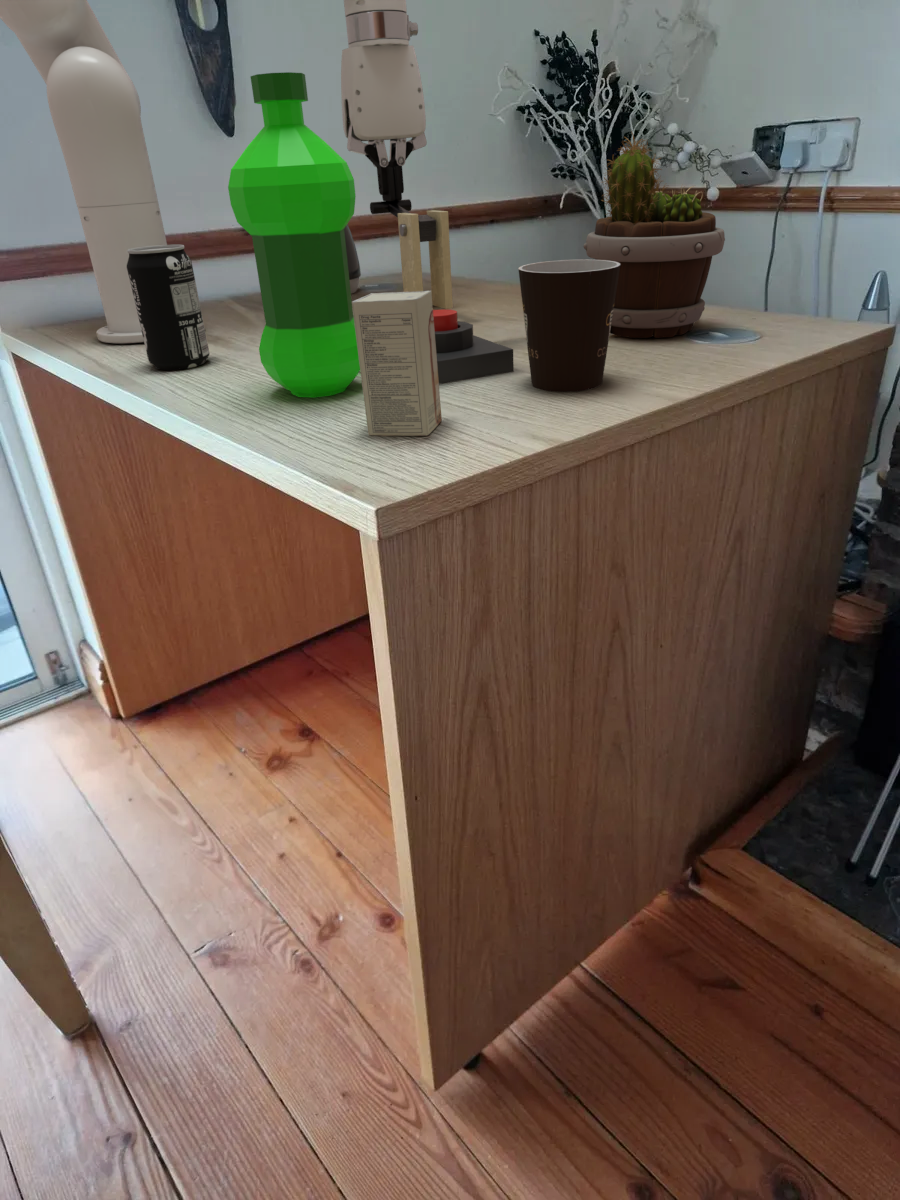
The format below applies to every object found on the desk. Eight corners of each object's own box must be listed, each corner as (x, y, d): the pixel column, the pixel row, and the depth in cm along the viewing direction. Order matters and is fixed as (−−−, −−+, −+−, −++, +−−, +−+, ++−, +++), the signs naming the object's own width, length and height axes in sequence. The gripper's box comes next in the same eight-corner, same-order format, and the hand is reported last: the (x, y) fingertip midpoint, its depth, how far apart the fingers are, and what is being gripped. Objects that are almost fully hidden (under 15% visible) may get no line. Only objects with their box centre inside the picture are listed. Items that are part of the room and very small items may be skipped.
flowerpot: (666, 313, 100) (681, 128, 90) (742, 334, 87) (769, 121, 77) (561, 326, 96) (564, 135, 86) (624, 350, 83) (636, 128, 73)
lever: (370, 216, 107) (369, 197, 106) (407, 213, 109) (407, 194, 108) (407, 243, 98) (407, 222, 97) (447, 239, 100) (448, 218, 99)
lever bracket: (387, 318, 107) (378, 213, 101) (441, 311, 110) (435, 208, 104) (416, 329, 99) (408, 216, 93) (473, 321, 102) (469, 211, 96)
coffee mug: (591, 400, 67) (596, 273, 62) (502, 390, 72) (500, 271, 67) (640, 369, 76) (647, 255, 71) (558, 362, 80) (559, 255, 75)
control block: (375, 364, 84) (371, 324, 82) (460, 350, 87) (458, 312, 85) (419, 388, 74) (416, 343, 72) (513, 372, 77) (513, 329, 76)
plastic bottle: (385, 396, 72) (354, 66, 60) (268, 411, 70) (211, 70, 57) (363, 372, 80) (333, 79, 68) (258, 385, 78) (207, 83, 66)
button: (416, 330, 80) (414, 312, 79) (448, 326, 81) (447, 308, 80) (430, 336, 77) (429, 317, 76) (464, 331, 78) (463, 312, 77)
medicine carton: (443, 421, 64) (435, 289, 59) (428, 438, 61) (419, 299, 56) (382, 419, 66) (370, 290, 61) (364, 436, 62) (349, 300, 57)
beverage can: (147, 362, 90) (120, 248, 84) (206, 355, 92) (184, 242, 86) (153, 374, 85) (124, 252, 79) (215, 365, 87) (192, 246, 81)
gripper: (421, 37, 103) (431, 195, 112) (310, 39, 98) (330, 204, 107) (445, 29, 97) (454, 196, 106) (328, 30, 92) (348, 206, 101)
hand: (392, 200), depth 107 cm, fingers closed
